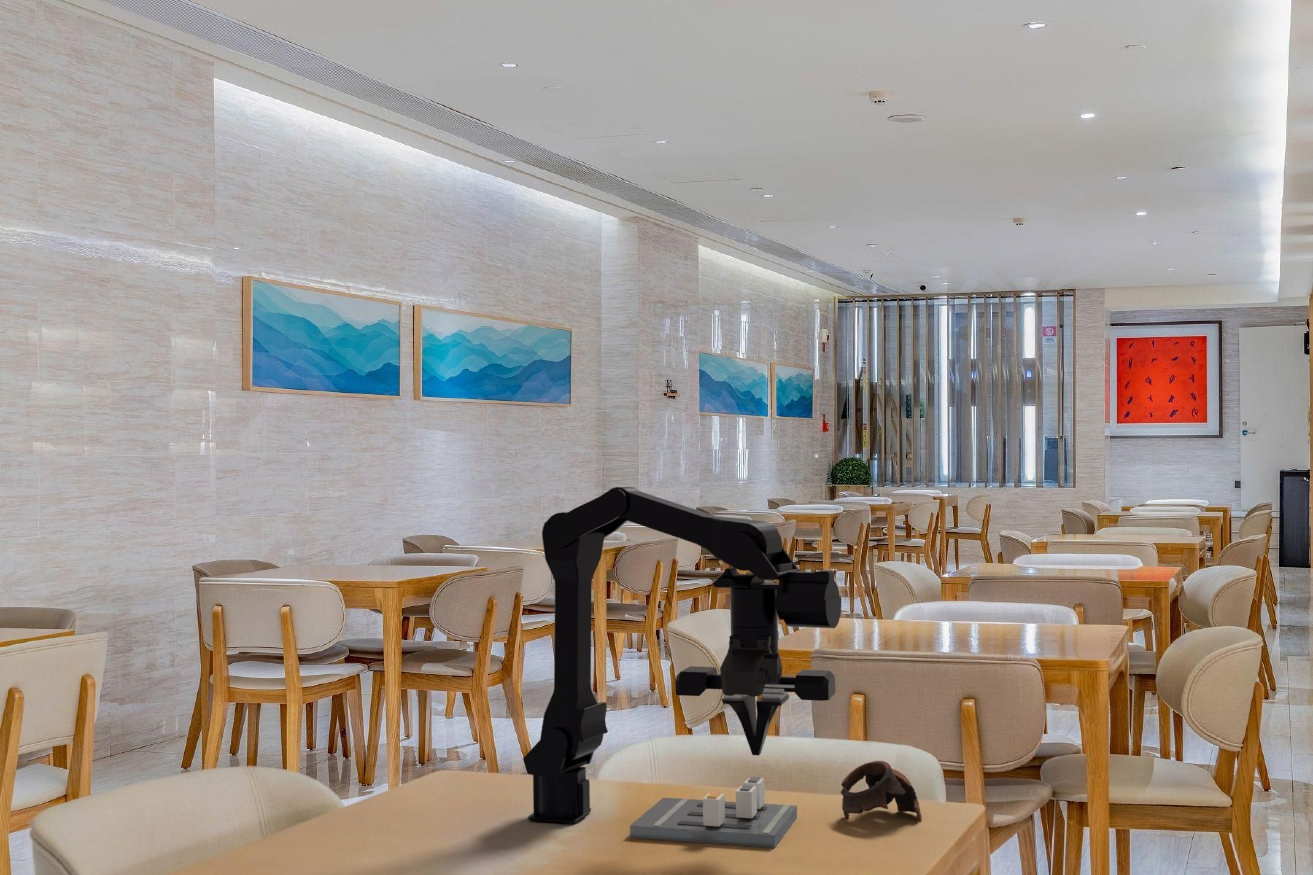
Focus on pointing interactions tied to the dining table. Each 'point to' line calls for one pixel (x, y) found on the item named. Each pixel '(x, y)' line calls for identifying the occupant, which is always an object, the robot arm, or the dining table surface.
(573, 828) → the dining table surface
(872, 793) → the brown curved band frame
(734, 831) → the panel
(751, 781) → the block
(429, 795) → the dining table surface
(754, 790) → the breaker
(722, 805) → the block
